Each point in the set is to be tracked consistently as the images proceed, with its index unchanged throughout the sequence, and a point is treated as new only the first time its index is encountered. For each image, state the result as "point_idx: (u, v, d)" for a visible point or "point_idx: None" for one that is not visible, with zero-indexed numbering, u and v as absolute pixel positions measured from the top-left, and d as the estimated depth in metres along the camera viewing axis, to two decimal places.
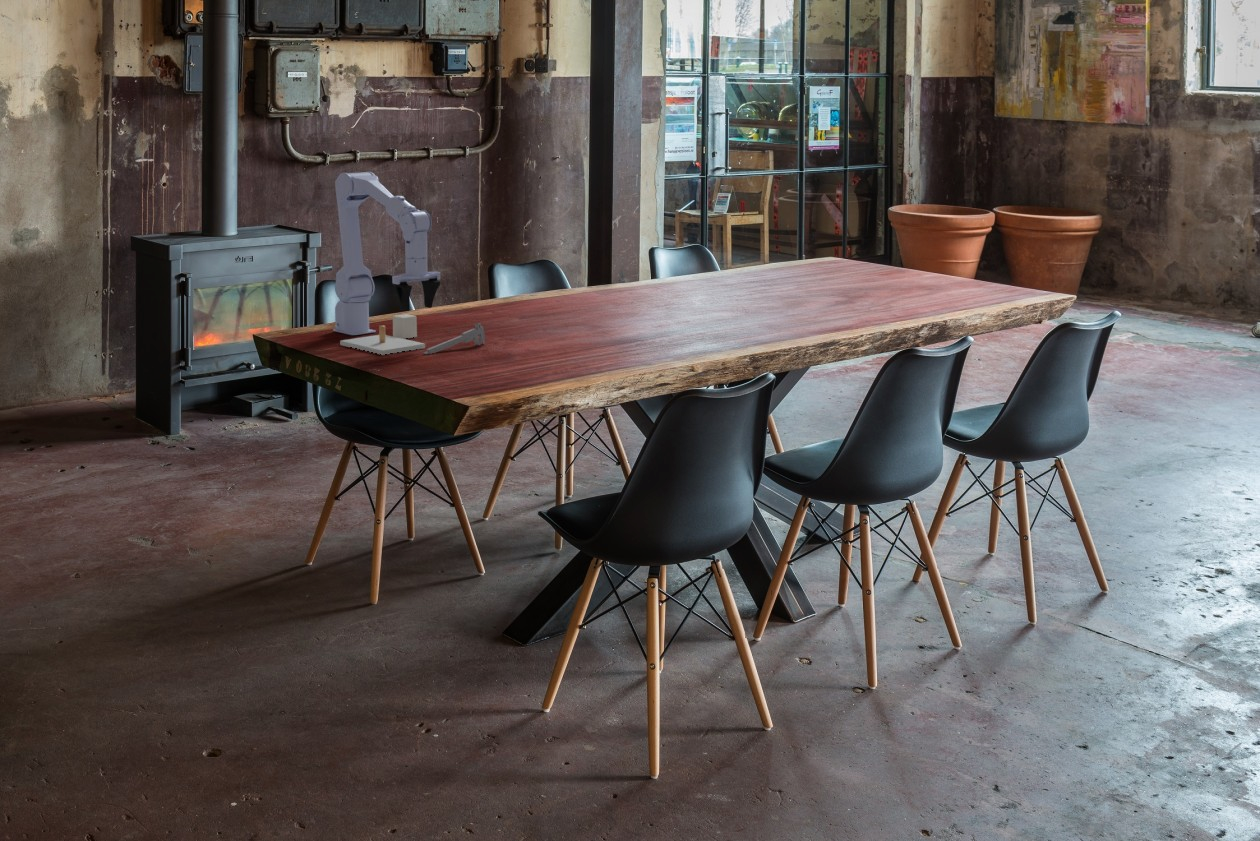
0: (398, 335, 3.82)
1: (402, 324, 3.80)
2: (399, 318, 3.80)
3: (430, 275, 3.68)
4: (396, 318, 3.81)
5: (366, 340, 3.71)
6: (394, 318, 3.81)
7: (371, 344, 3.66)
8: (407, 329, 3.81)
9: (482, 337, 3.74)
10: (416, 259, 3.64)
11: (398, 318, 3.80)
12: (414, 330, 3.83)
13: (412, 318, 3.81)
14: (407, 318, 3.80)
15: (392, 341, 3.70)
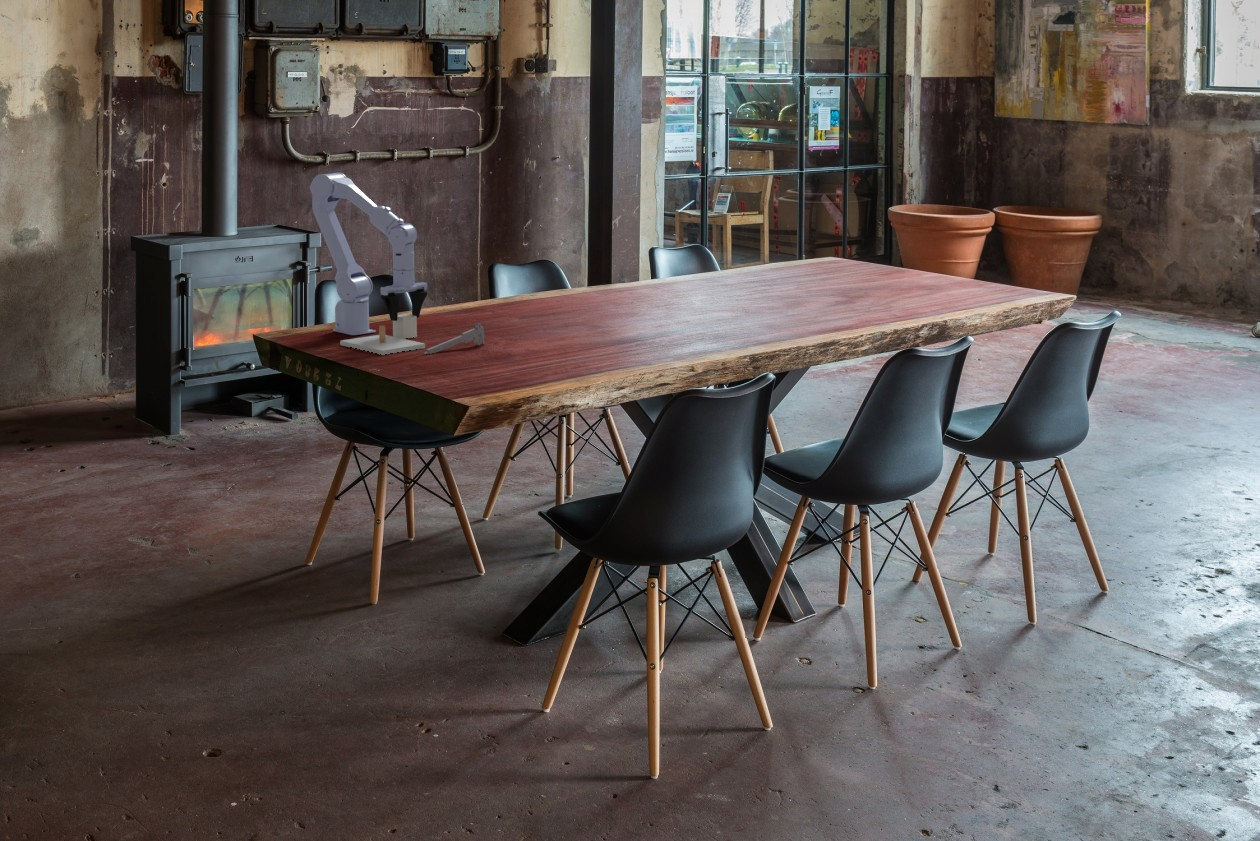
0: (398, 335, 3.82)
1: (402, 324, 3.80)
2: (399, 318, 3.80)
3: (417, 286, 3.81)
4: None
5: (366, 340, 3.71)
6: None
7: (371, 344, 3.66)
8: (407, 329, 3.81)
9: (482, 337, 3.74)
10: (403, 271, 3.76)
11: (398, 318, 3.80)
12: (414, 330, 3.83)
13: (412, 318, 3.81)
14: (407, 318, 3.80)
15: (392, 341, 3.70)
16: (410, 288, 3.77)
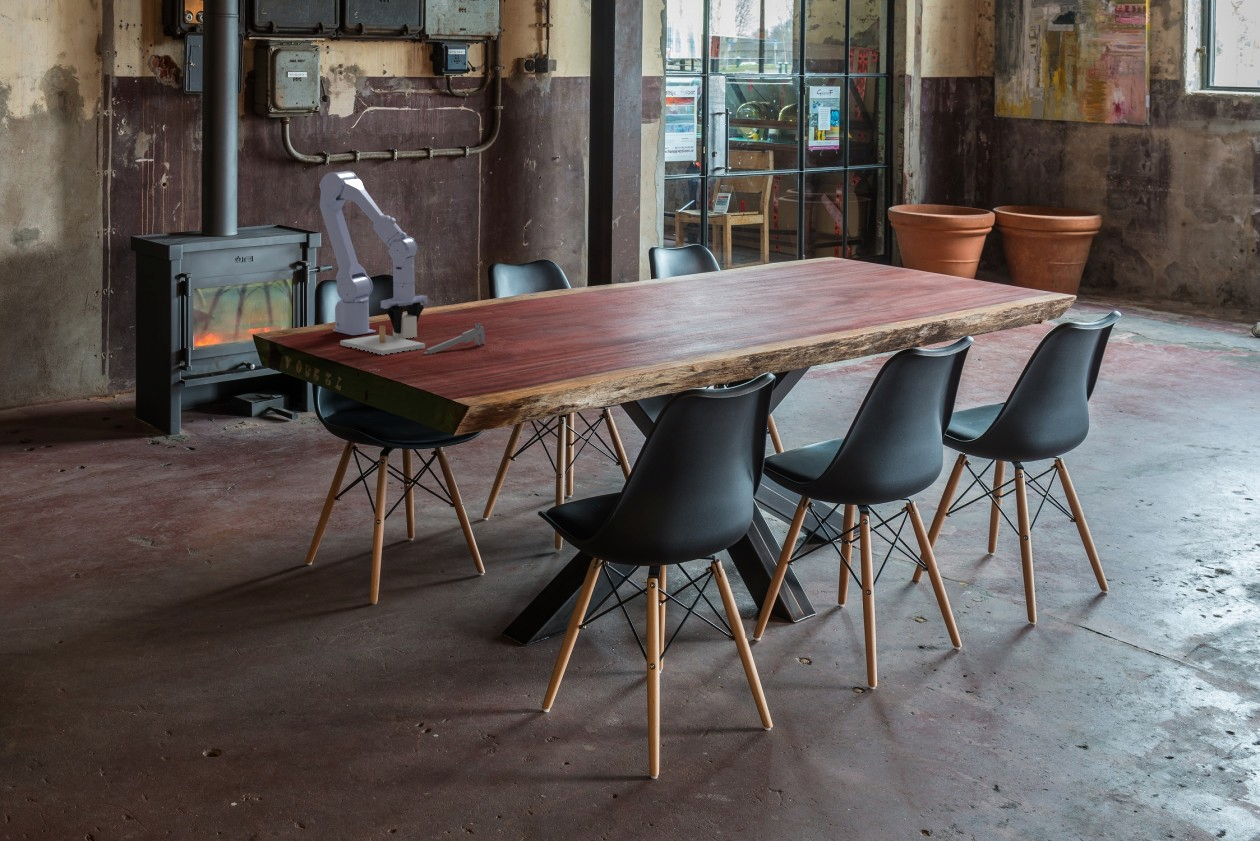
0: (398, 335, 3.82)
1: (402, 324, 3.80)
2: None
3: (417, 299, 3.82)
4: None
5: (366, 340, 3.71)
6: None
7: (371, 344, 3.66)
8: (407, 329, 3.81)
9: (482, 337, 3.74)
10: (404, 284, 3.77)
11: None
12: (414, 330, 3.83)
13: (412, 318, 3.81)
14: (407, 318, 3.80)
15: (392, 341, 3.70)
16: (410, 301, 3.78)
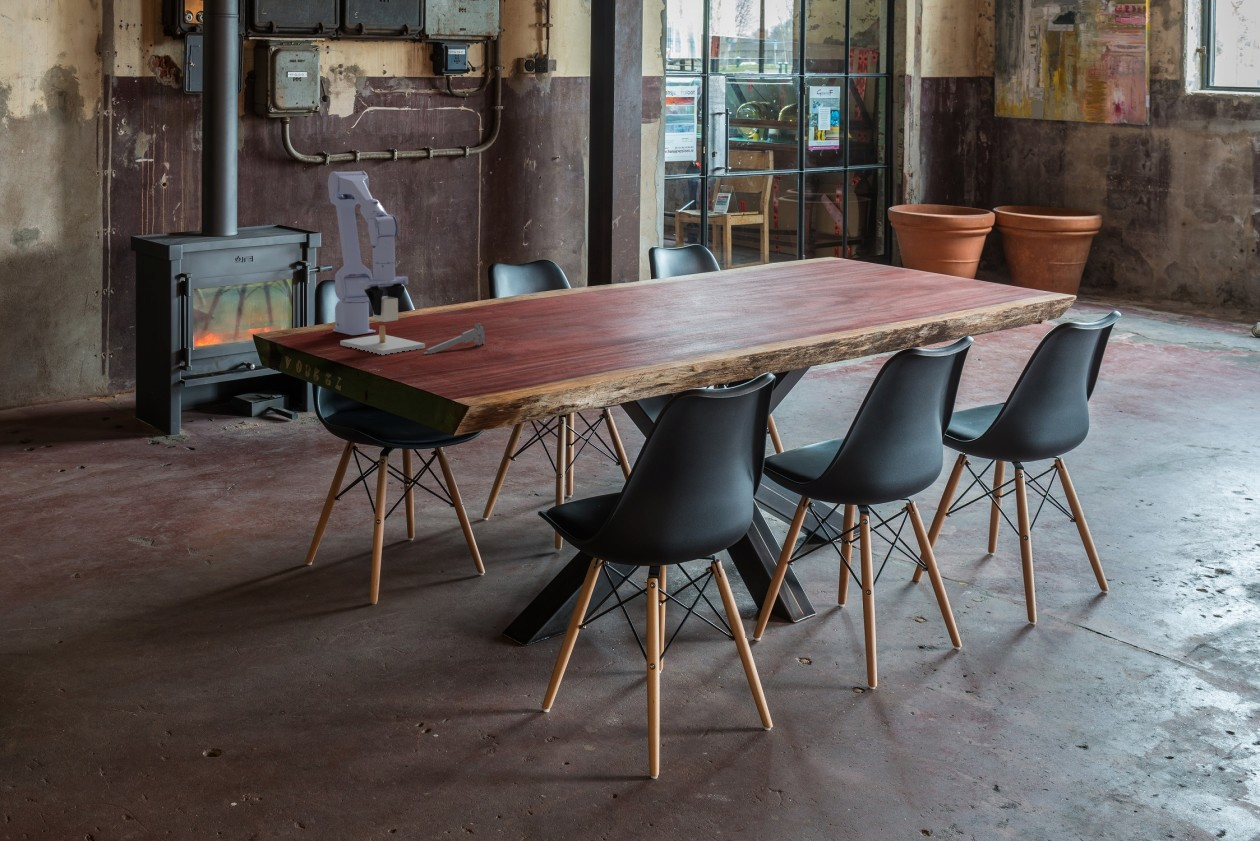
0: (378, 318, 3.68)
1: (382, 306, 3.66)
2: None
3: (398, 280, 3.68)
4: None
5: (366, 340, 3.71)
6: None
7: (371, 344, 3.66)
8: (388, 312, 3.67)
9: (482, 337, 3.74)
10: (383, 264, 3.63)
11: None
12: (395, 313, 3.69)
13: (393, 300, 3.67)
14: (388, 300, 3.66)
15: (392, 341, 3.70)
16: (390, 282, 3.64)
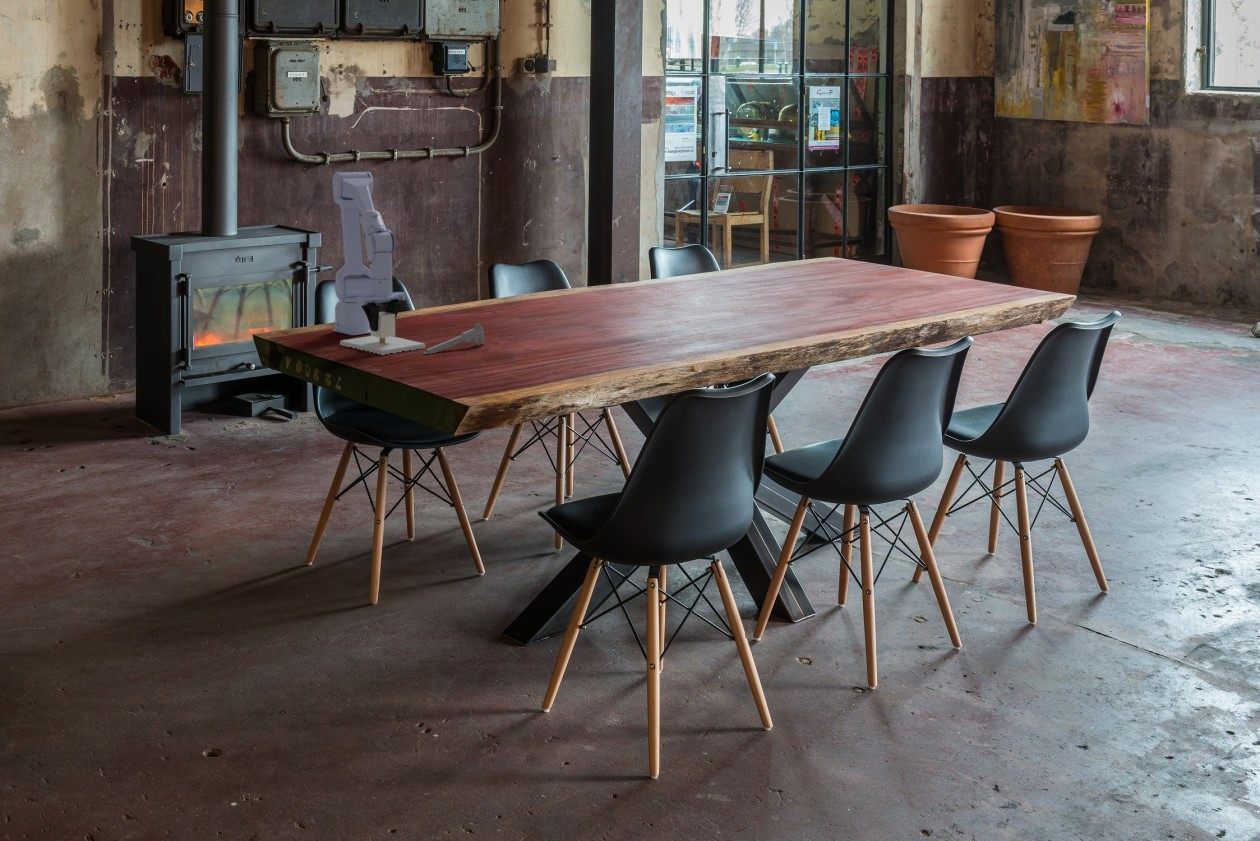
0: (375, 334, 3.67)
1: (379, 322, 3.65)
2: None
3: (395, 296, 3.67)
4: None
5: (366, 340, 3.71)
6: None
7: (371, 344, 3.66)
8: (385, 328, 3.66)
9: (482, 337, 3.74)
10: (380, 280, 3.62)
11: None
12: (392, 328, 3.68)
13: (390, 316, 3.66)
14: (385, 316, 3.65)
15: (392, 341, 3.70)
16: (387, 298, 3.63)
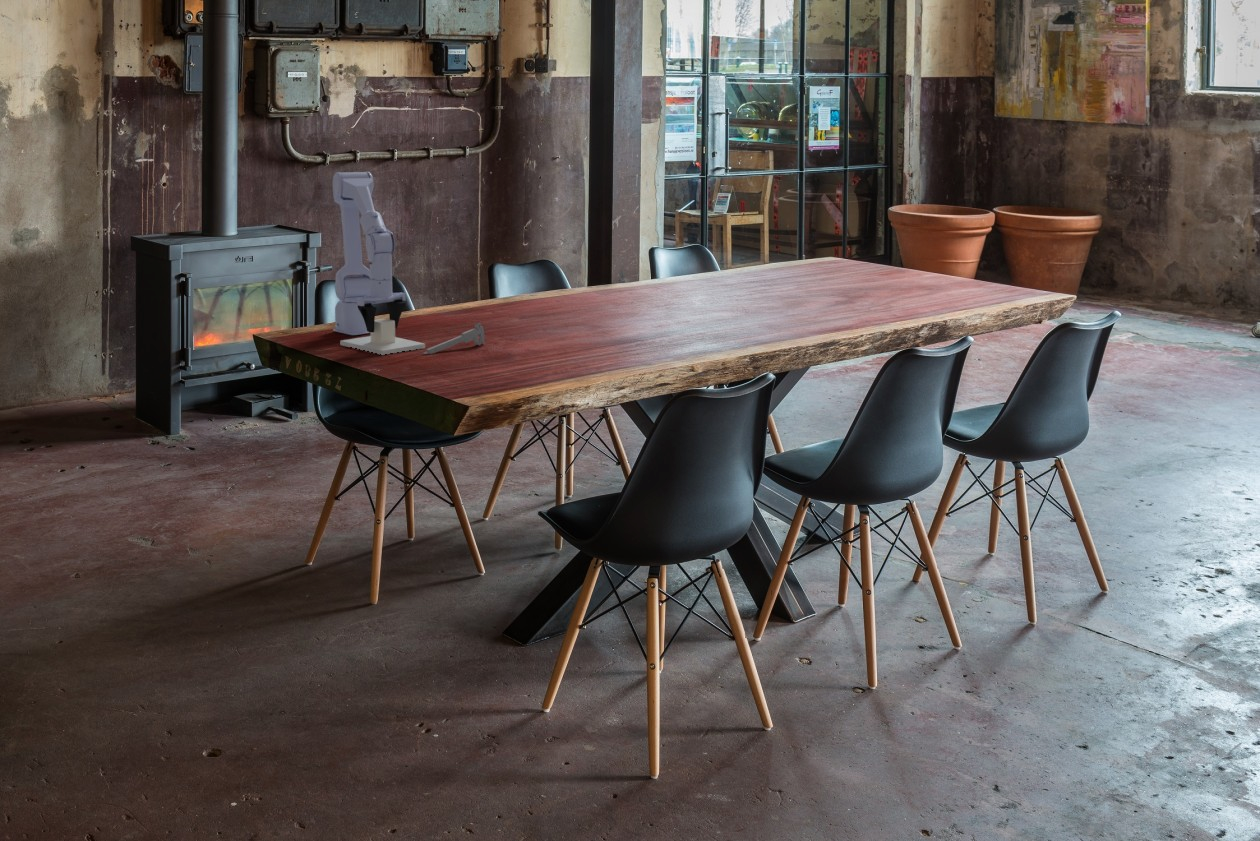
0: (376, 340, 3.67)
1: (379, 328, 3.65)
2: (376, 323, 3.66)
3: (395, 296, 3.67)
4: None
5: (366, 340, 3.71)
6: None
7: (371, 344, 3.66)
8: (385, 335, 3.66)
9: (482, 337, 3.74)
10: (381, 280, 3.62)
11: (375, 323, 3.66)
12: (392, 335, 3.68)
13: (390, 323, 3.67)
14: (385, 323, 3.66)
15: None
16: (387, 299, 3.63)
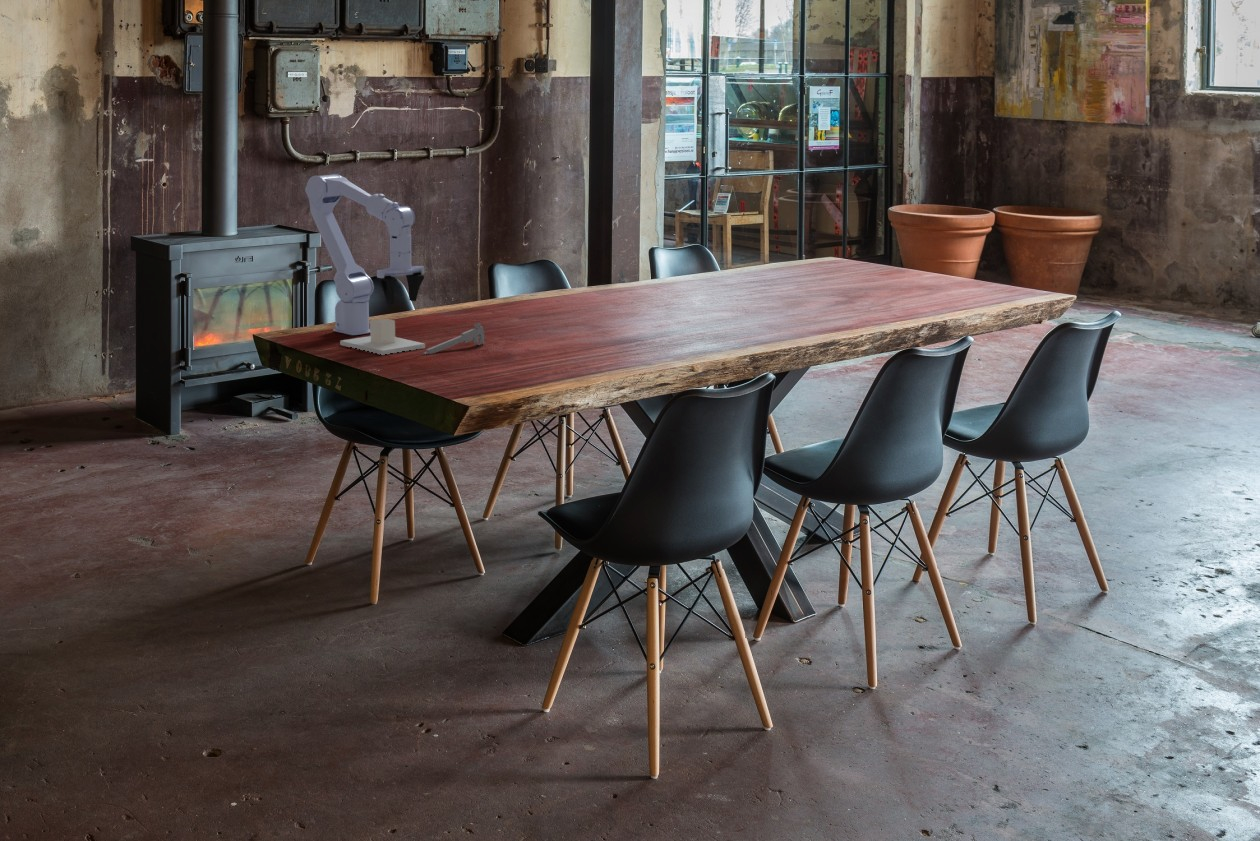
0: (376, 340, 3.67)
1: (379, 328, 3.65)
2: (376, 323, 3.66)
3: (414, 269, 3.78)
4: (373, 323, 3.67)
5: (366, 340, 3.71)
6: (371, 322, 3.67)
7: (371, 344, 3.66)
8: (385, 335, 3.66)
9: (482, 337, 3.74)
10: (400, 253, 3.73)
11: (375, 323, 3.66)
12: (392, 335, 3.68)
13: (390, 323, 3.67)
14: (385, 323, 3.66)
15: None
16: (407, 271, 3.74)
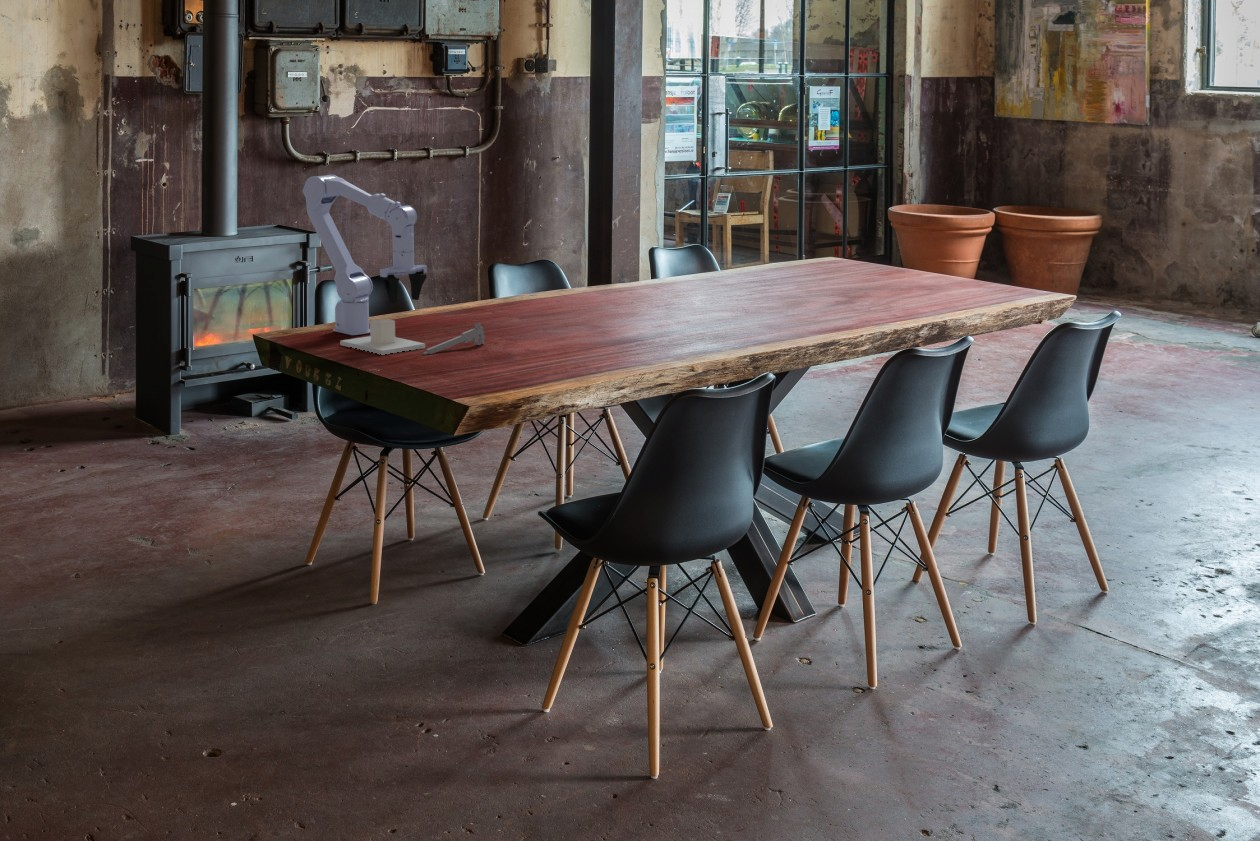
0: (376, 340, 3.67)
1: (379, 328, 3.65)
2: (376, 323, 3.66)
3: (417, 268, 3.79)
4: (373, 323, 3.67)
5: (366, 340, 3.71)
6: (371, 322, 3.67)
7: (371, 344, 3.66)
8: (385, 335, 3.66)
9: (482, 337, 3.74)
10: (403, 253, 3.75)
11: (375, 323, 3.66)
12: (392, 335, 3.68)
13: (390, 323, 3.67)
14: (385, 323, 3.66)
15: None
16: (410, 270, 3.76)
